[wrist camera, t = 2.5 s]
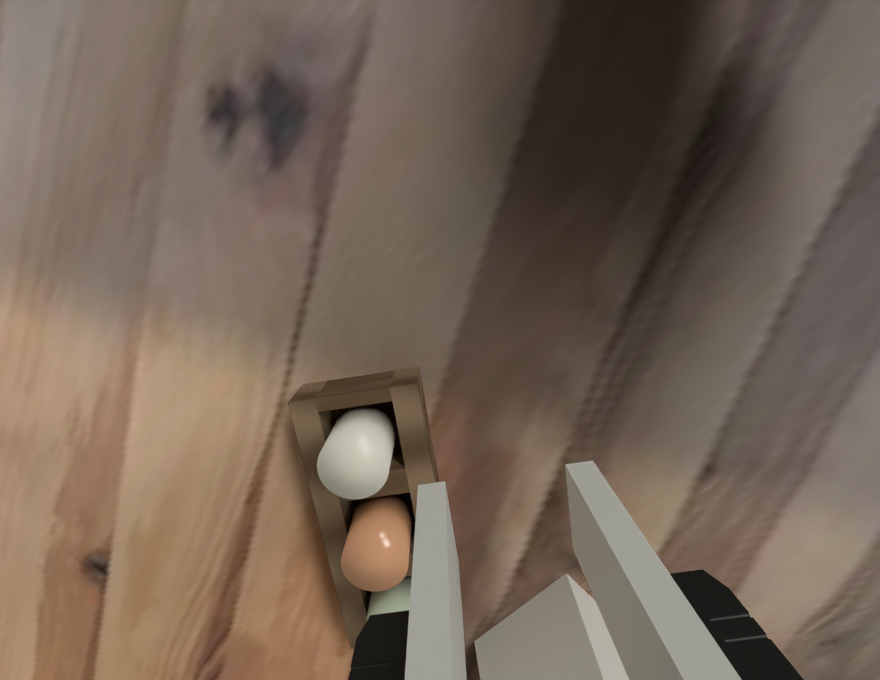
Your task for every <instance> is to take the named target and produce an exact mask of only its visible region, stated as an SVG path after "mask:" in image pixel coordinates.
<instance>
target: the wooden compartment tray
mask: <svg viewBox="0 0 880 680" xmlns="http://www.w3.org/2000/svg"><path fill="white" fill-rule="evenodd" d="M390 401H392V402H393V407H394V412H395V417H396V423H397V428H398V433H399V438H400V443H401V445H400V446H394V448H393V454H392V459H391V464H390V469H389V474H388V478H387V480H386V482H385V484H384V486H383V487H382V488H381V489H380V490H379V491H378V492H377V493H375V494H374V495H372V496H369V497H367V498H373V497H380V496H387V495H394V494H401V493H409V492H410V495H411V501H412V506H413V511H414V516H415V521H416V506H417V492H418V485H422V484H430V483H437V482H439V480H438V474H437V469H436V463H435V457H434V451H433V445H432V440H431V434H430V428H429V422H428V416H427V411H426V405H425V399H424V393H423V387H422V381H421V376H420V370H419V368H412V369H406V370H399V371H392V372H385V373H379V374H372V375H365V376H358V377H352V378H345V379H338V380H331V381H325V382H318V383H311V384H304V385H303V386H302V387H301V388H300V389H299V390H298V392H297V393H296V394H295V395H294V396H293V397H292V399H291V400H290V401H289V402H288V405H289V409H290V413H291V417H292V421H293V425H294V428H295V432H296V436H297V440H298V444H299V448H300V452H301V456H302V460H303V464H304V467H305V471H306V475H307V479H308V483H309V487H310V491H311V495H312V499H313V503H314V506H315V510H316V514H317V518H318V522H319V526H320V530H321V534H322V538H323V542H324V546H325V549H326V553H327V557H328V561H329V565H330V569H331V573H332V577H333V581H334V585H335V588H336V592H337V596H338V600H339V604H340V608H341V612H342V616H343V620H344V624H345V627H346V631H347V635H348V639H349V643H350V647H351V649H354V648H355V643H356V639H357V637H358V635H359V634H360V632H361V630H362V628H363V627H364V625H365V623H366V620H367V614H368V608H369V603H370V597H371V591H366V590H363V589H360V588H358V587H356V586H355V585H353V584H352V583H351V582H349V581H348V579H347V578H346V577H345V575H344V574H343V571H342V568H341V556H342V553H343V549H344V546H345V542H346V539H347V536H348V532H349V529H350V525H351V522H352V518H353V515H354V511H355V509H356V503H355V500H359V499H346V498H342V497H339V496H337V495H335V494H333V493H332V492H331V491H329V490H328V489H327V488H326V487H325V486H324V485H323V483H322V482H321V480H320V478H319V475H318V471H317V460H318V456H319V454H320V452H321V450H322V448H323V446H324V444H325V442H326V440H327V438H328V436H329V434H330V432H331V431H332V429H333V427H334V425H335V423H336V421H337V420H336V416H335V411H334V410H335V409H342V408H349V407H356V406H363V405H370V404H376V403H383V402H390ZM363 499H366V498H363ZM414 535H415V523H412V528H411V540H410V552H409V565H408V571H407V573H406V575H405V577H406V576H412V564H413V550H414Z"/></svg>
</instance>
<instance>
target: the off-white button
mask: <svg viewBox="0 0 880 680" xmlns="http://www.w3.org/2000/svg"><path fill="white" fill-rule="evenodd" d="M395 436H396V434H395V428H394V425H393V423H392V421H391V420H390V418H389V417H388V416H387V415H386V414H385V413H383V412H382V411H380V410H379V409H376V408H373V407H369V406H357V407H353V408H350V409H348V410H347V411H345V412H344V413H343V414H341V415H340V417H339V418H338V419H337V421H336V423H335V425H334V427H333V429H332V431H331V432H330V434H329V436H328V438H327V440H326V442H325V444H324V446H323V448H322V450H321V452H320V454H319V456H318V460H317V471H318V475H319V478H320V480H321V482H322V483H323V485H324V486H325V487H326V488H327V489H328V490H329V491H331V492H332V493H333V494H335V495H337V496H339V497H342V498H346V499H363V498H367V497H369V496H372V495H374V494H375V493H377V492H378V491H379V490H380V489H381V488H382V487H383V486H384V484H385V482H386V480H387V478H388V474H389V469H390V464H391V459H392V454H393V448H394V443H395Z"/></svg>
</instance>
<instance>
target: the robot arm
mask: <svg viewBox="0 0 880 680" xmlns="http://www.w3.org/2000/svg"><path fill="white" fill-rule="evenodd" d="M565 468H566V479H567V490H568V501H569V513H570V524H571V535H572V546H573V550H574V552H575V555H576V557H577V559H578V562H579V564H580V566H581V569H582V571H583V573H584V575H585V578H586V580H587V582H588V585H589V587H590V589H591V592H592V594H593V596H594V599H595V601H596V603H597V606H598V608H599V610H600V613H601V615H602V617H603V620H604V622H605V624H606V627H607V629H608V631H609V634H610V636H611V638H612V641H613V643H614V645H615V648H616V650H617V652H618V655H619V657H620V659H621V662H622V664H623V666H624V669H625V671H626V673H627V675H628V678H629V680H803V678H802V677H801V676H800V675H799V674H798V672H797V671H796V670H795V669H794V667H793V666H792V665H791V664H790V662H789V661H788V660H787V659H786V658H785V656H784V655H783V654H782V653H781V651H780V650H779V649H778V648H777V647H776V645H775V644H774V643H773V642H772V640H771V639H768V638H767V636H766V633H765V632H764V631H763V629H762V628H761V627H760V626H759V625H758V623H757V622H756V621H755V620H754V618H751V617H750V615H749V612H748V611H747V610H746V609H745V607H744V606H743V605H742V604H741V603H740V601H739V600H738V599H737V598H736V596H735V595H734V594H733V593H732V591H731V590H730V589H729V588H728V587H726V586H725V585H723V584H722V583H721V582H719V581H718V580H716V579H715V578H714V577H712V576H711V575H709V574H708V573H707V572H705V571H704V570H695V571H688V572H680V573H673V574H669V572H668V571H667V569H666V568H665V566H664V565H663V563H662V562H661V560H660V559H659V557H658V556H657V554H656V553H655V551H654V550H653V548H652V547H651V546H650V544H649V543H648V541H647V540H646V538H645V537H644V535H643V534H642V532H641V531H640V529H639V528H638V526H637V525H636V523H635V522H634V521H633V519H632V518H631V516H630V515H629V513H628V512H627V510H626V509H625V507H624V506H623V504H622V503H621V501H620V500H619V498H618V497H617V496H616V494H615V493H614V491H613V490H612V488H611V487H610V485H609V484H608V482H607V481H606V479H605V478H604V476H603V475H602V473H601V472H600V470H599V469H598V468H597V466H596V465H595V463H594V462H593V461H586V462H579V463H572V464H565ZM348 680H467V674H466V660H465V645H464V631H463V616H462V602H461V587H460V573H459V561H458V555H457V550H456V544H455V538H454V532H453V526H452V520H451V514H450V508H449V502H448V496H447V490H446V484H445V481H444V482H437V483H430V484H422V485H418V492H417V506H416V521H415V535H414V550H413V564H412V579H411V593H410V607H409V610H406V611H399V612H391V613H384V614H376V615H370V617H369V618H368V620H367V622H366V623H365V625H364V627H363V628H362V630H361V632H360V634H359V635H358V637H357V639H356V643H355V648H354V653H353V658H352V664H351V671H350V674H349V679H348Z"/></svg>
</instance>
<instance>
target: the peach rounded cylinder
mask: <svg viewBox="0 0 880 680" xmlns="http://www.w3.org/2000/svg"><path fill="white" fill-rule="evenodd" d="M411 528H412V515H411V512H410V510H409V508H408V506H407V505H406V504H405V503H404V502H403V501H402V500H400V499H399V498H397V497H395V496H392V495H387V496H380V497H373V498H366V499H364V500H362V501H361V502H360V503H359V504H358V506H357V507H356V509H355V511H354V515H353V518H352V522H351V525H350V529H349V532H348V536H347V539H346V542H345V546H344V549H343V553H342V556H341V568H342V571H343V574H344V575H345V577H346V578H347V579H348V581H349V582H351V583H352V584H353V585H355V586H356V587H358V588H360V589H363V590H366V591H374V592H378V591H385V590H388V589H391V588H393V587H395V586H396V585H398V584H399V583H400V582H401V581H402V580H403V579H404V577H405V575H406V573H407V571H408V565H409V552H410V540H411Z"/></svg>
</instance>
